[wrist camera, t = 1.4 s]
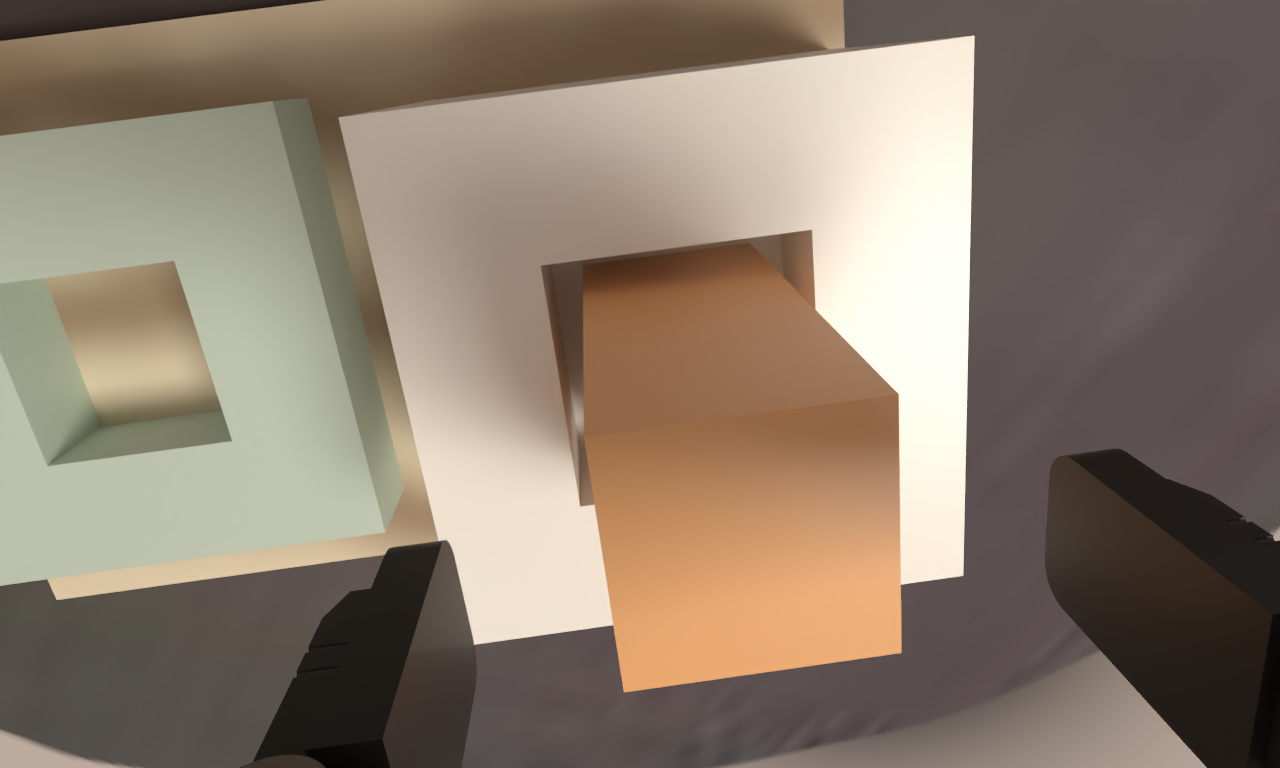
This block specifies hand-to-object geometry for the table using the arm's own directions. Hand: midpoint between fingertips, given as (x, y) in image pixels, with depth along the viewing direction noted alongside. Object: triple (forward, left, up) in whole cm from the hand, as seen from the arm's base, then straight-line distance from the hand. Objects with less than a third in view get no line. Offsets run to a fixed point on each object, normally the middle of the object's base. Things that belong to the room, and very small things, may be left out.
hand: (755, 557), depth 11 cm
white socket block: (0, 0, -17) cm, 17 cm away
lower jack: (0, -16, -17) cm, 23 cm away
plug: (0, 0, -10) cm, 10 cm away
